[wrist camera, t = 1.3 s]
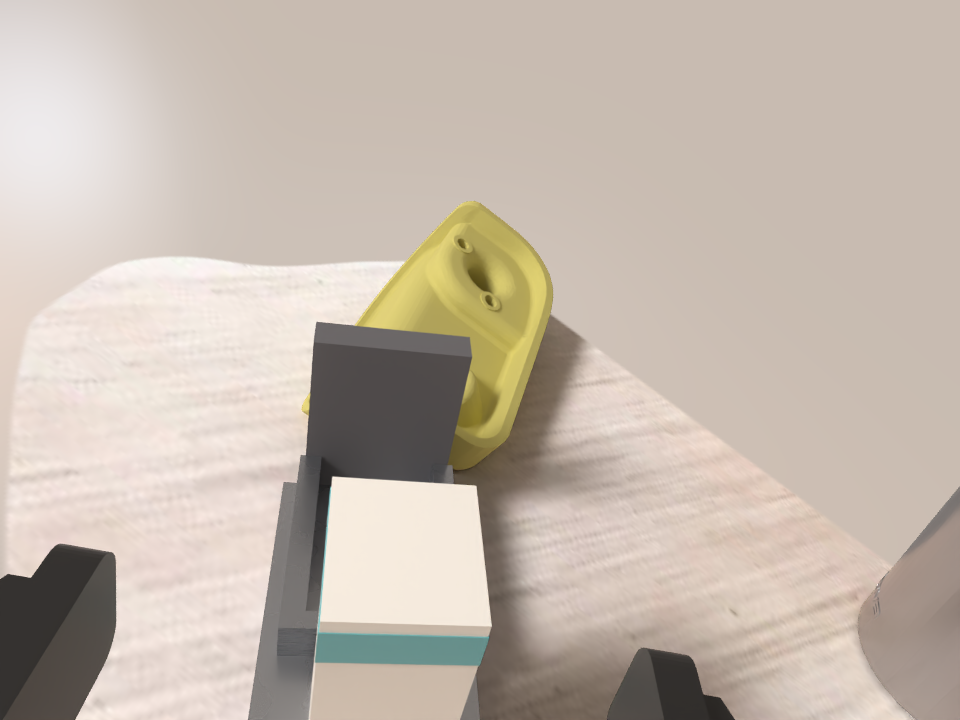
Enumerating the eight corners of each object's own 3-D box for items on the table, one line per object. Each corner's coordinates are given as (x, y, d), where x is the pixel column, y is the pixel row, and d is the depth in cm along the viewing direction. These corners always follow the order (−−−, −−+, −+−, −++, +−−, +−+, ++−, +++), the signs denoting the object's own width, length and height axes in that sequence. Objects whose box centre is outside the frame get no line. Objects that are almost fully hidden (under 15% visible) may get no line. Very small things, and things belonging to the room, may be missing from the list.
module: (428, 815, 28) (492, 627, 20) (298, 818, 27) (318, 622, 20) (424, 682, 32) (477, 485, 24) (311, 680, 31) (331, 475, 24)
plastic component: (499, 464, 41) (347, 355, 39) (428, 519, 46) (288, 424, 44) (565, 270, 56) (457, 184, 54) (506, 327, 61) (404, 249, 59)
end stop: (437, 510, 41) (472, 357, 35) (302, 503, 40) (313, 342, 33) (435, 489, 42) (469, 336, 36) (305, 481, 41) (316, 321, 34)
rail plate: (481, 845, 29) (500, 805, 27) (231, 851, 27) (230, 809, 25) (455, 511, 41) (467, 466, 39) (282, 502, 39) (284, 454, 37)
